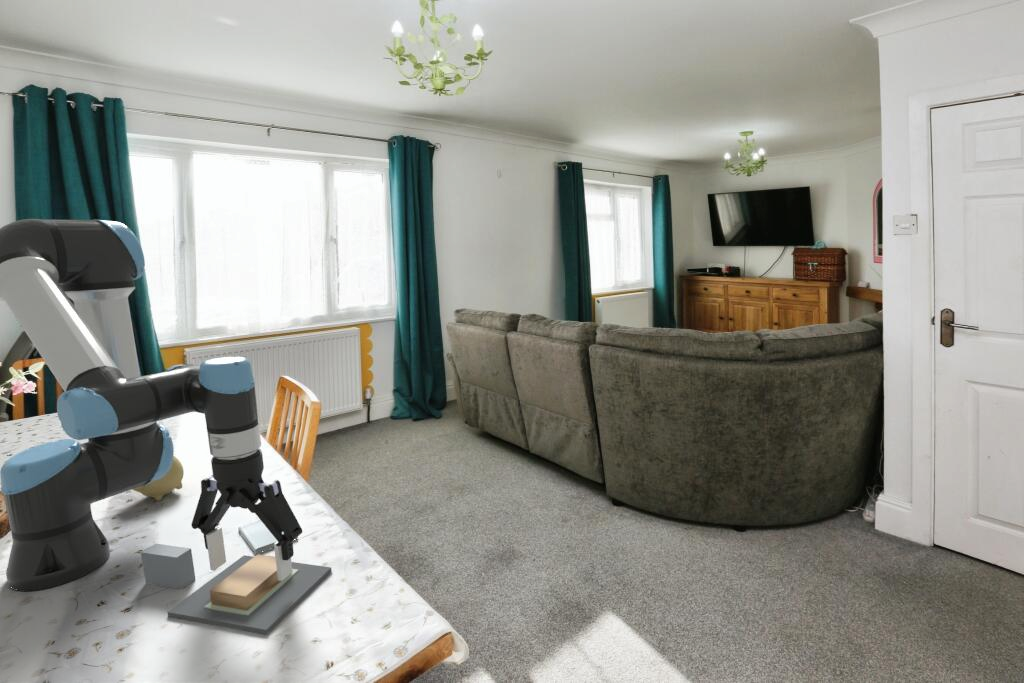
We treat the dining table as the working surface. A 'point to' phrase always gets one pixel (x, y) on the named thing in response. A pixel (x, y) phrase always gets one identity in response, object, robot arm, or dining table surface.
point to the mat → (261, 613)
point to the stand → (168, 566)
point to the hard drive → (258, 536)
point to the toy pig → (164, 482)
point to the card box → (246, 584)
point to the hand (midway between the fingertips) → (251, 571)
